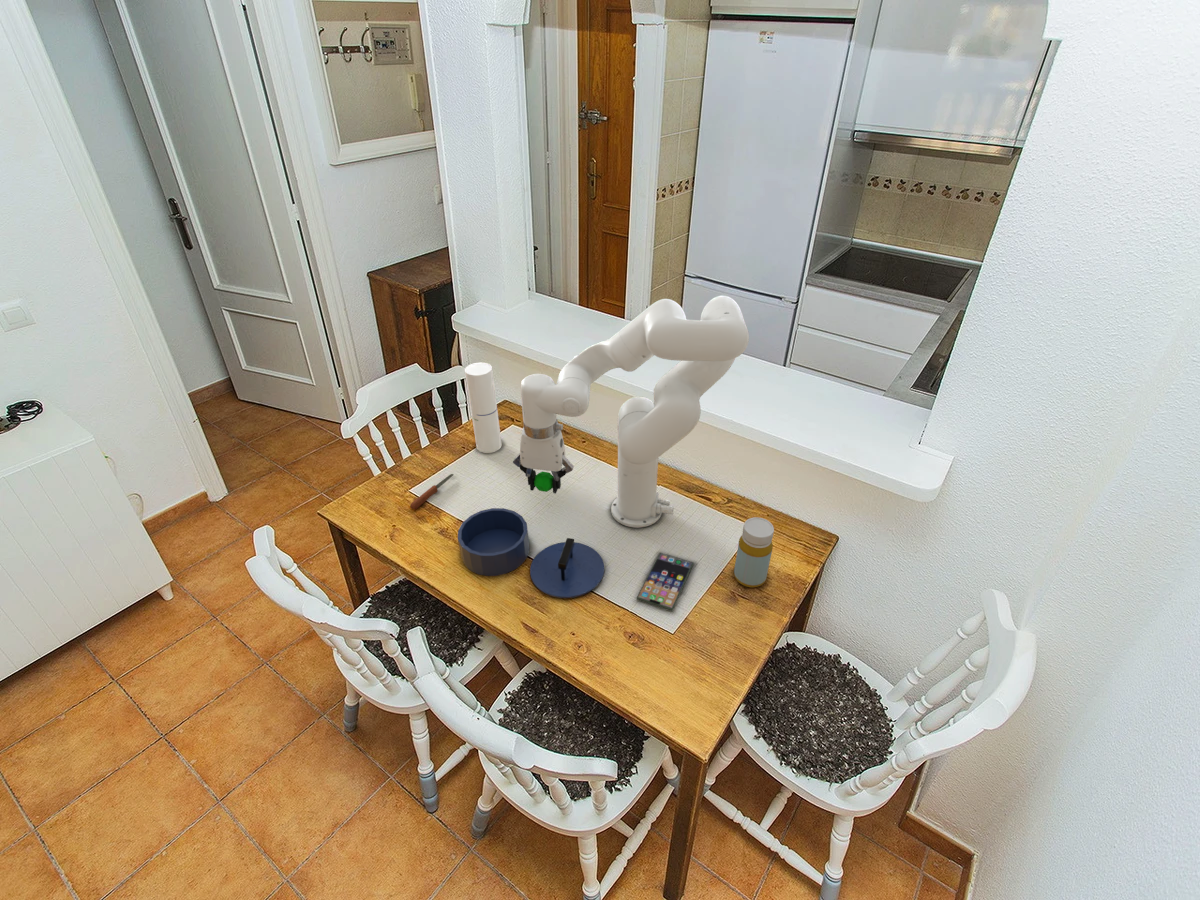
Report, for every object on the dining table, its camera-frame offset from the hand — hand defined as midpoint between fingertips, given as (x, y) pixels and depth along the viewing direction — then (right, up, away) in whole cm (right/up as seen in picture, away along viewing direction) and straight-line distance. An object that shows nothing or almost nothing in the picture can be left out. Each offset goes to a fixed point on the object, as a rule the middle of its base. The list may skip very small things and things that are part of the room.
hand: (544, 487), depth 154 cm
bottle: (+47, -19, -14) cm, 52 cm away
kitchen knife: (-30, -2, +10) cm, 32 cm away
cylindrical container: (-18, +10, +27) cm, 35 cm away
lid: (+6, -18, -13) cm, 23 cm away
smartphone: (+28, -20, -15) cm, 38 cm away
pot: (-11, -14, -7) cm, 19 cm away
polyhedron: (0, -1, 0) cm, 1 cm away
